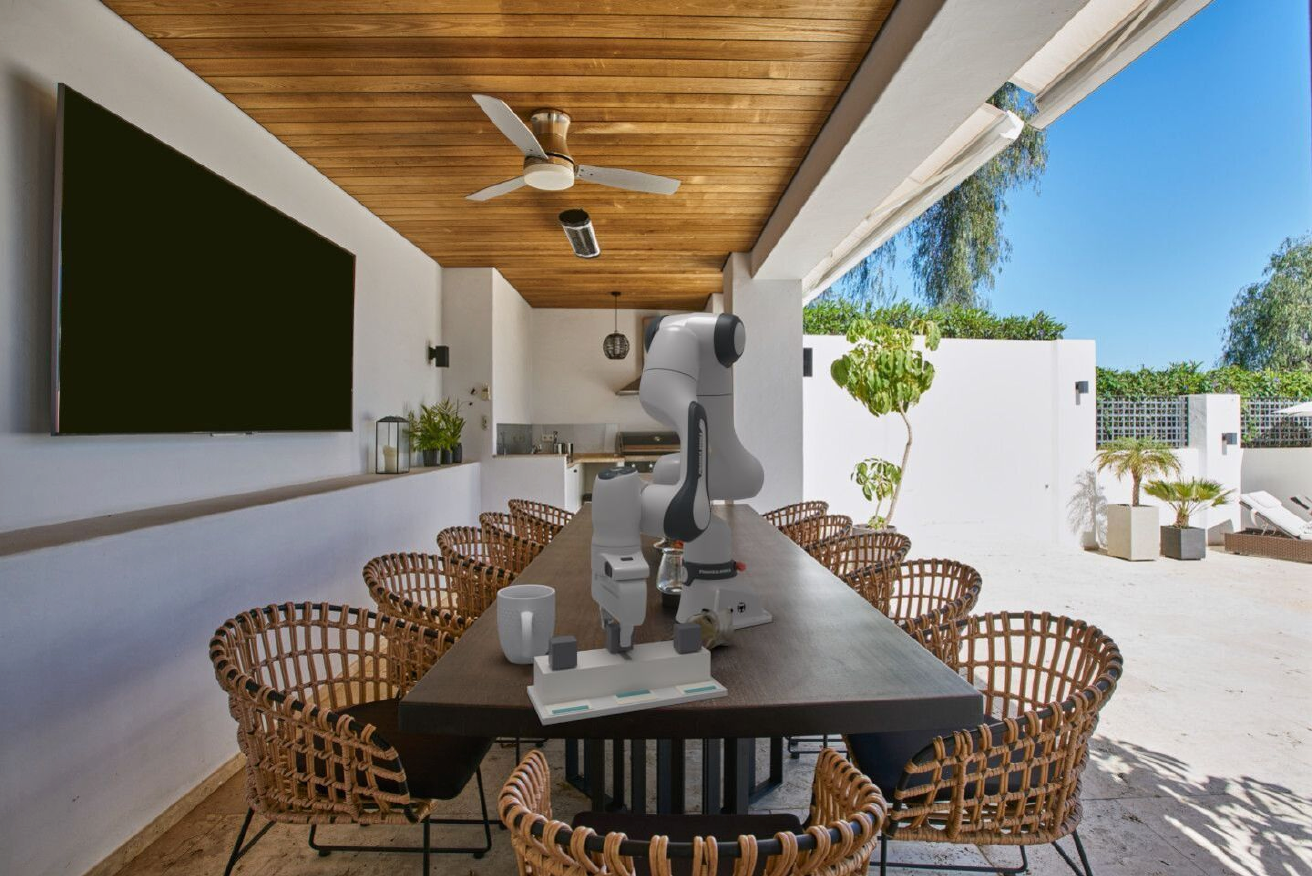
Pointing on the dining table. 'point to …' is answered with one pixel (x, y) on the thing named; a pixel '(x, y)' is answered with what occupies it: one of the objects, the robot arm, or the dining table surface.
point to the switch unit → (621, 682)
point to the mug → (525, 621)
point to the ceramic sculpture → (713, 628)
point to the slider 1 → (562, 652)
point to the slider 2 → (687, 637)
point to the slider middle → (616, 638)
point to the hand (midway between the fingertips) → (615, 637)
